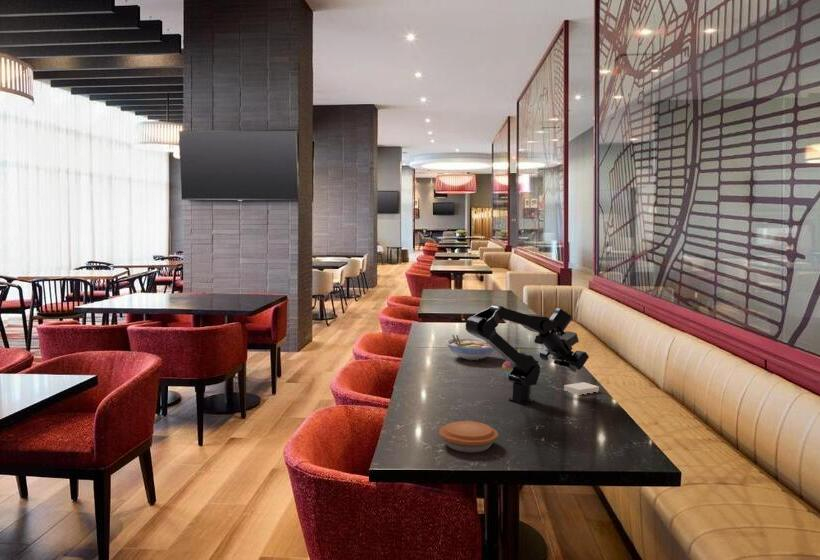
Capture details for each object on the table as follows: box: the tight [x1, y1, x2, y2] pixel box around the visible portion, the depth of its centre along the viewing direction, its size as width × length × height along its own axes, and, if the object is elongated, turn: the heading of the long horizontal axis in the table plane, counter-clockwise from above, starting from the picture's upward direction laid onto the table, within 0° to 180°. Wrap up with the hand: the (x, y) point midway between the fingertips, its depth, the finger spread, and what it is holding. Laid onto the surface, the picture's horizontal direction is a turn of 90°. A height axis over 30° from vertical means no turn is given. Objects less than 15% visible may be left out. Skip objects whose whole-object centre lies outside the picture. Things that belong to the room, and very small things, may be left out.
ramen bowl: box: [445, 334, 496, 361], centre depth 268 cm, size 25×23×8 cm
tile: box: [563, 381, 600, 396], centre depth 218 cm, size 2×7×10 cm
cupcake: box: [501, 347, 521, 380], centre depth 235 cm, size 9×8×12 cm
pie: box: [438, 420, 499, 454], centre depth 161 cm, size 16×16×5 cm
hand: (574, 370), depth 216 cm, fingers closed
